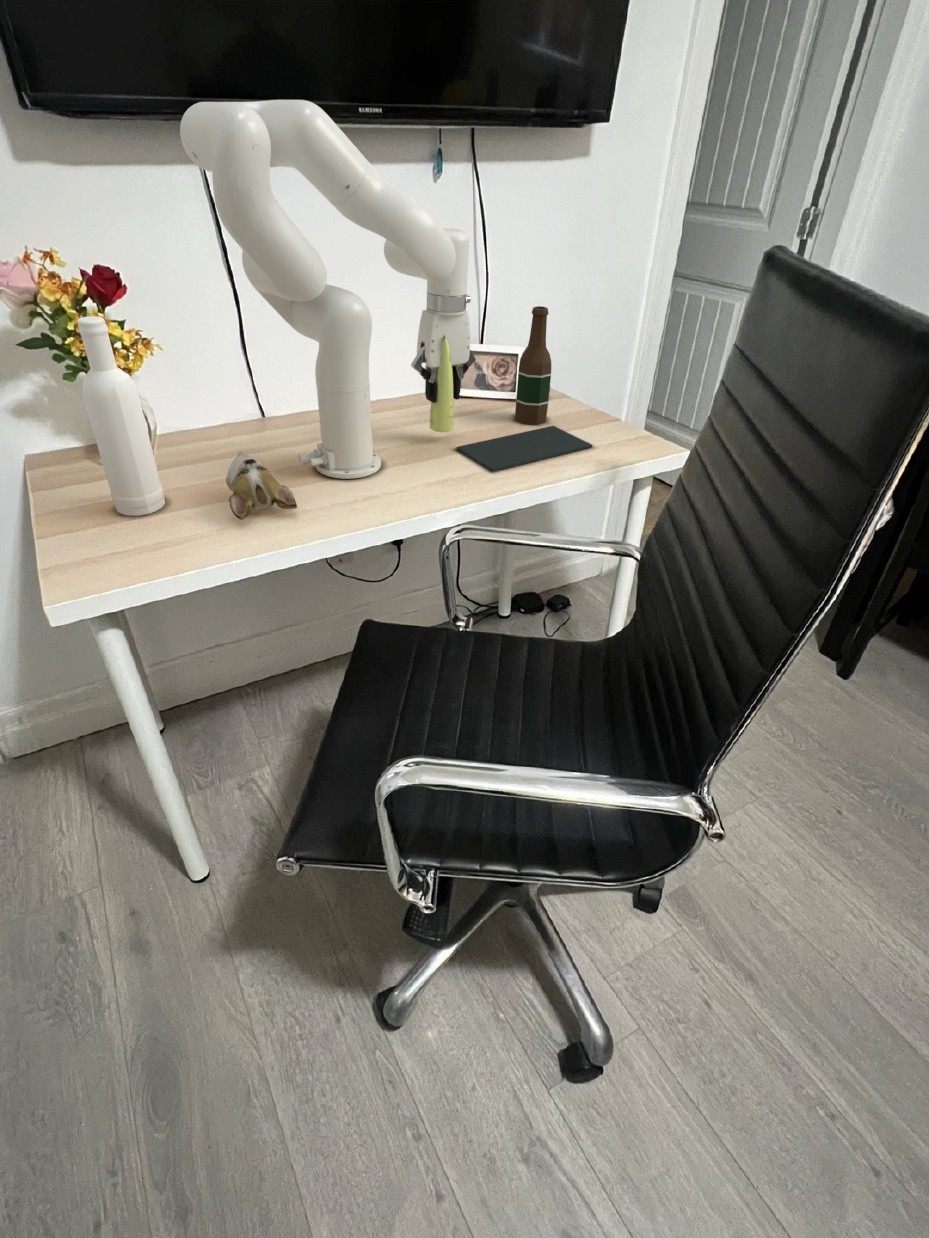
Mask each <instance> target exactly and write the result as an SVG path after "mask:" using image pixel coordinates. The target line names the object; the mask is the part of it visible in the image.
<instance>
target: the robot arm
mask: <svg viewBox="0 0 929 1238" xmlns="http://www.w3.org/2000/svg"><path fill="white" fill-rule="evenodd" d="M179 135H180V141H181V145H182V147H183V149H184V152H185V153H186V155H187V157H188V158H189V159H190V160H191V161H192V162H193V163H194V164H195V165H196V166H198V167H199V168H200V169H203V170H205V171H206V172H209V173H212V174H211V175H212V177H211V178H212V190H213V199H214V203H215V208H216V211H217V214H218V218H219V219H220V221H221V223H222V225H223V227H224V228H225V230H226V231H227V232H228V234H229V235H230V237H231V238H232V240H234V242H235V243H236V244H237V245H238V247H240V249H241V250H242V253H241V263H242V268H243V271H244V274H245V276H246V278H247V280H248V282H249V283H250V284H251V286H252V287H253V288H254V289H255V290H256V292H258V293H259V294H260V296H261V297H262V298H263V299H264V300H265V301H266V303H268V304H269V305H270V306H271V307H272V309H273V310H274V311H276V313H277V314H278V315H279V316H280V317H281V318H282V319H283V320H284V321H285V322H286V323H287V324H288V325H289V326H290V327H291V328H292V329H293V330H294V331H296V332H297V333H299V334H300V335H302V336H304V337H306V338H309V339H310V340H314V341H315V342H317V343H318V351H317V355H316V359H315V369H314V373H315V375H314V376H315V385H316V386H315V387H316V396H317V405H318V417H319V426H320V427H319V428H320V437H321V439H320V441H321V442H318V443H316V448H315V449H313V450H312V451H308V452H307V451H306V452H302V453H298V454H297V460H298V463H299V464H300V465H303V464H308V463H309V464H310V466H311V467H315V469H316V470H317V472H319V473H320V474H322V475H324V476H326V477H329V478H334V479H341V480H343V479H344V480H350V479H351V480H352V479H360V478H364V477H368V476H371V475H373V474H375V473H376V472H378V471H379V470H380V469H381V467H382V459H381V457H380V456H379V455H378V454H377V453H376V452H374V451H373V450H374V449H373V429H372V427H373V426H372V406H371V405H372V404H371V387H370V346H371V339H372V333H373V320H372V319H373V318H372V314H371V311H370V309H369V307H368V305H367V303H366V302H365V301H364V300H363V299H362V298H361V297H360V296H359V295H357V294H355V293H354V292H353V291H350V290H347V289H345V288H342V287H339V286H335V285H331V284H327V281H328V274H327V268H326V265H325V263H324V261H323V258H322V257H321V256H320V254H319V252H318V251H317V250H316V248H315V247H314V245H312V244H311V242H309V240H308V239H307V238H306V236H305V235H304V234H303V232H302V231H300V229H299V228H298V226H296V224H295V223H294V222H293V221H292V219H290V217H289V216H288V215H287V213H286V212H285V210H284V209H283V207H282V206H281V205H280V204H279V202H278V200H277V198H276V197H275V195H274V192H273V190H272V185H271V177H270V175H271V174H270V171H271V170H270V169H271V168H279V167H282V168H291V169H295V170H296V171H298V173H300V174H301V175H302V176H303V177H304V178H305V179H306V180H307V181H308V182H309V183H310V184H311V185H312V186H313V187H314V188H315V189H316V190H317V192H319V193H320V194H321V195H322V196H323V197H324V198H325V199H326V200H327V201H328V202H329V204H331V205H332V206H333V207H334V208H335V209H336V210H337V211H338V213H340V214H341V215H342V216H343V217H344V218H345V219H347V220H348V221H350V222H352V223H353V224H355V225H357V226H359V227H360V228H362V229H365V230H367V231H369V232H371V233H374V234H376V235H378V236H380V237H382V238H383V239H385V241H384V245H383V255H384V258H385V261H386V263H387V264H388V266H389V267H390V268H391V269H393V270H394V271H396V272H397V273H400V274H402V275H405V276H410V277H414V278H418V279H422V280H425V281H426V306H425V307H426V309H423V310H422V311H421V315H420V320H419V326H418V333H417V343H416V355H415V357H414V359H413V360H412V362H411V364H410V366H411V368H412V369H413V370H415V371H416V372H417V373H418V374H419V375H420V376H421V377H422V379H423V380H424V381H425V383H424V386H425V387H424V395H425V399H426V400H427V401H429V402H430V403H431V402H433V403H436V402H437V383H436V382H435V378H436V374H437V370H438V367H439V366H440V362H441V349H442V343H443V341H444V339H445V335H446V340H447V342H448V345H449V350H450V358H451V365H452V372H453V400H459V399H460V396H461V395H460V393H461V386H462V385H461V384H462V380H463V379H464V377H465V374H466V373H467V372H468V370H469V368H470V367H471V366H472V365H473V364H474V363H475V362H476V360H477V359H476V357H475V355H474V353H473V352H472V350H471V326H470V317H469V311H468V310H466V309H467V304H470V303H471V301H472V298H471V296H470V295H468V294H467V289H468V275H469V274H468V273H469V254H470V253H469V252H470V238H469V235H468V233H467V232H466V231H464V230H461V229H457V228H448V227H447V228H443V227H442V225H441V224H440V223H439V222H438V221H437V220H436V218H435V217H434V216H433V215H432V214H431V213H430V212H429V211H428V210H427V209H426V208H425V207H424V206H422V205H421V204H420V203H419V202H418V201H417V200H415V199H414V198H413V197H412V196H410V195H408V193H406V192H405V191H403V190H402V189H401V188H399V186H397V185H396V184H395V183H394V182H392V181H391V180H389V179H388V178H386V177H385V176H384V175H383V174H382V173H380V171H378V170H377V169H376V168H375V167H374V166H373V165H372V164H371V162H370V161H369V160H368V158H366V157H365V156H364V155H363V153H362V152H361V151H360V150H359V148H358V147H356V145H355V144H354V143H353V141H351V139H350V138H349V137H348V136H347V135H346V134H345V133H344V131H342V129H341V128H340V127H339V126H338V125H337V123H336V122H335V121H334V120H333V119H332V117H330V115H328V114H327V112H325V111H324V109H323V108H321V106H319V105H317V104H316V103H314V102H312V101H309V100H306V99H269V100H255V101H199V102H197V103H194V104H193V105H191V106H190V107H188V108H187V109H186V111H185V112H184V113H183V116H182V118H181V119H180V125H179ZM423 364H425V366H424V367H423Z"/></svg>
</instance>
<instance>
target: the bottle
mask: <svg viewBox="0 0 929 1238" xmlns="http://www.w3.org/2000/svg"><path fill="white" fill-rule="evenodd" d="M76 323H77V325H78V328H77V330H78V333H79V334H80V337H81V339H82V343H83V346H84V351H85V354H86V358H87V361H88V365H89V368H90V369H89V370H88V371H87V373H86V374H85V376H84V377H83V379H82V391H81V392H82V393H81V396H82V398H83V401H84V405H85V409H86V413H87V416H88V420H89V421H90V425H91V429H92V432H93V436H94V439H95V443H96V446H97V449H98V453H99V456H100V459H101V463H102V467H103V469H104V473H105V476H106V480H107V484H108V487H109V490H110V496H111V499H112V503H113V504H114V507H115V510H116V511H117V512H118V514H121V515H124V516H130V517H141V516H146V515H150V514H153V513H156V512H157V511H159V510H160V509H162V508H163V507H164V506H165V504H166V501H165V496H164V488H163V486H162V484H161V479H160V475H159V472H158V468H157V463H156V460H155V456H154V451H153V447H152V443H151V438H150V435H149V432H148V428H147V423H146V419H145V414H144V411H143V407H142V403H141V398H140V394H139V390H138V386H137V385H136V383H135V382H134V380H133V379H132V377H131V376H130V374H128V373H127V372H125V371H124V370H123V369H121V368H120V367H118V366H117V362H116V359H115V355H114V351H113V347H112V343H111V339H110V335H109V327H108V325H107V324H106V320H105V319H104V318H103V317H102V316H97V315H96V316H95V315H94V316H93V315H89V316H82V317H80V318H78V319H77V322H76Z"/></svg>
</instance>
